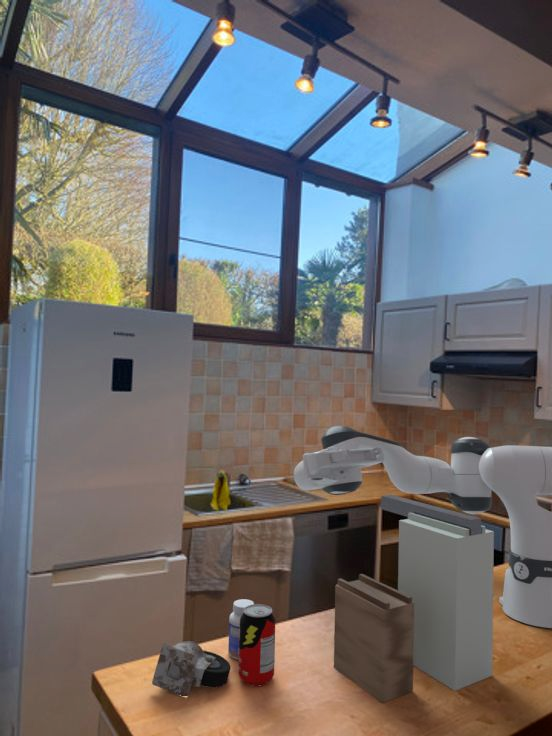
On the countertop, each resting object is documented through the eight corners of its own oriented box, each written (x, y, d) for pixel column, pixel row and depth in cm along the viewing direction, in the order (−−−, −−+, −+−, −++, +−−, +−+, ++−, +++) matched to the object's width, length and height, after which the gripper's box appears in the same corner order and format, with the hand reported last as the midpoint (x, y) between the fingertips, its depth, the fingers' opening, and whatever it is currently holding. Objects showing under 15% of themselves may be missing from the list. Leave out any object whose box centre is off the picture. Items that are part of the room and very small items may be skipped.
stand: (432, 643, 110) (434, 509, 111) (492, 675, 98) (493, 524, 99) (396, 655, 105) (399, 514, 106) (455, 690, 93) (457, 531, 94)
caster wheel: (229, 687, 97) (211, 711, 88) (173, 665, 100) (149, 685, 90) (239, 649, 98) (223, 668, 88) (183, 628, 101) (161, 644, 91)
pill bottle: (237, 644, 108) (238, 595, 108) (261, 651, 105) (262, 600, 106) (222, 656, 103) (224, 605, 103) (247, 663, 101) (248, 610, 101)
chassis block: (362, 657, 104) (364, 573, 104) (412, 691, 93) (414, 596, 93) (333, 667, 100) (335, 579, 101) (382, 703, 89) (384, 604, 90)
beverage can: (261, 666, 100) (263, 600, 100) (281, 682, 95) (282, 612, 95) (231, 675, 96) (233, 607, 97) (249, 692, 91) (251, 620, 91)
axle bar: (390, 507, 117) (391, 494, 117) (481, 533, 97) (481, 518, 97) (381, 508, 115) (381, 495, 115) (470, 535, 96) (470, 519, 96)
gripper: (367, 473, 143) (401, 461, 132) (301, 480, 133) (331, 468, 122) (362, 450, 145) (395, 436, 134) (296, 455, 135) (326, 440, 124)
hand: (364, 451), depth 128 cm, fingers open, 8 cm apart
